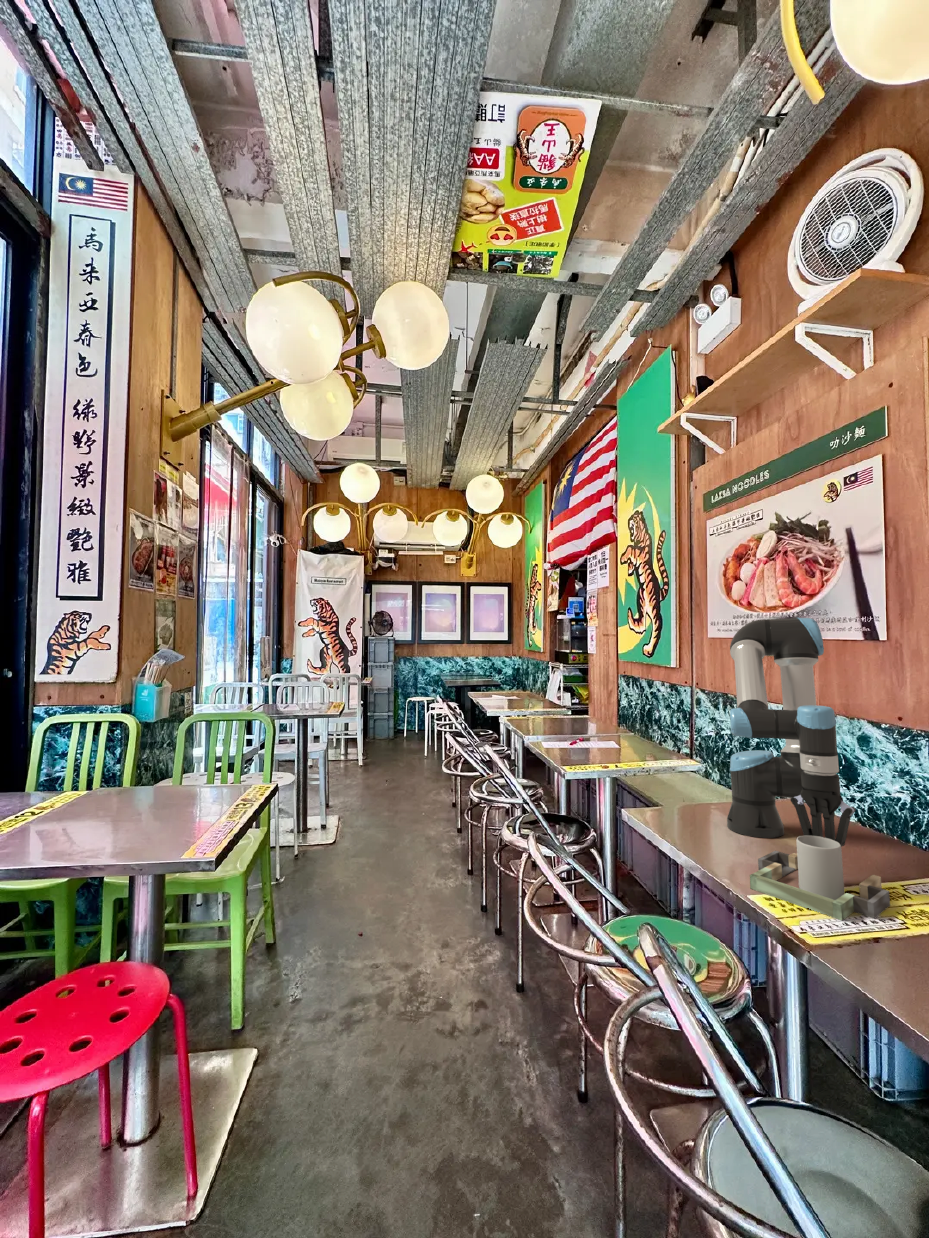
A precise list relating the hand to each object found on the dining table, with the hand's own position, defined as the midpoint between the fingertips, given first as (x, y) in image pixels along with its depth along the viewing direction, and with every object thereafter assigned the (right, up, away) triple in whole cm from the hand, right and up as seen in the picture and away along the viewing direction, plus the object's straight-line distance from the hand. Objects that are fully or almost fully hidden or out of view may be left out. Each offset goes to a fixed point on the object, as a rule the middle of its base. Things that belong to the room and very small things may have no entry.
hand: (826, 874), depth 121 cm
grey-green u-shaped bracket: (-5, -2, -3) cm, 6 cm away
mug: (-4, -2, -3) cm, 5 cm away
